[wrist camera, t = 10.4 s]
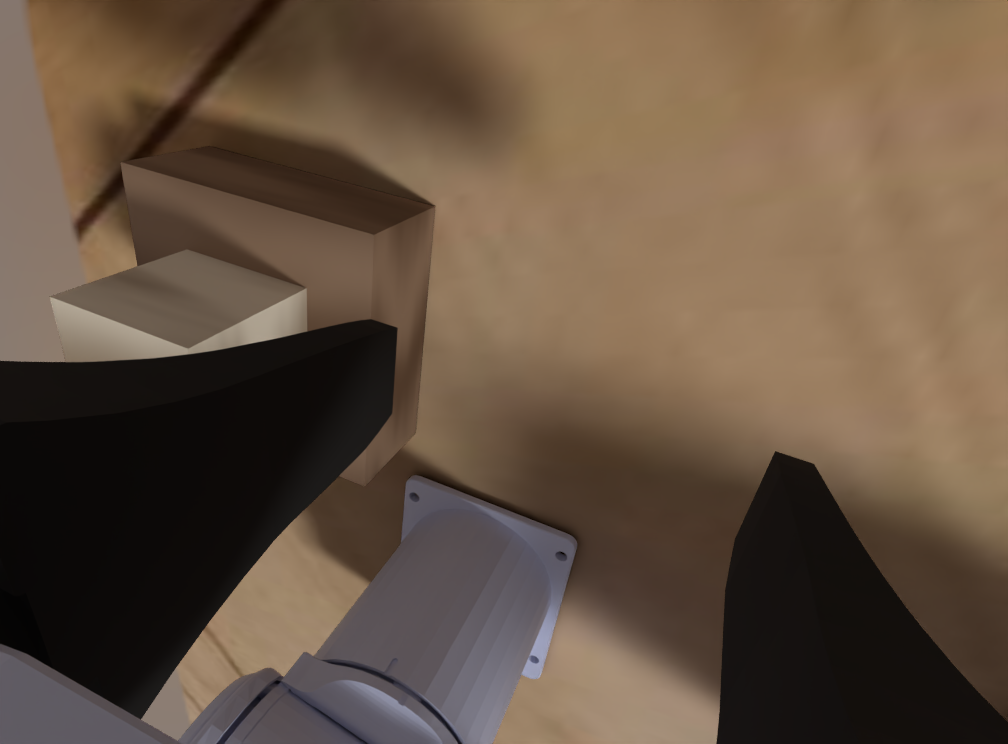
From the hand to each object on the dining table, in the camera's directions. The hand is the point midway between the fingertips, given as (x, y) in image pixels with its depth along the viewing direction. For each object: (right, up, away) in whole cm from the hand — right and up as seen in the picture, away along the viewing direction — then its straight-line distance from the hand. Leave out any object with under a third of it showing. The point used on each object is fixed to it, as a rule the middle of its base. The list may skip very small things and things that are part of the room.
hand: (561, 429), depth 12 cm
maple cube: (-10, +3, +11) cm, 15 cm away
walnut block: (-9, +4, +14) cm, 17 cm away
